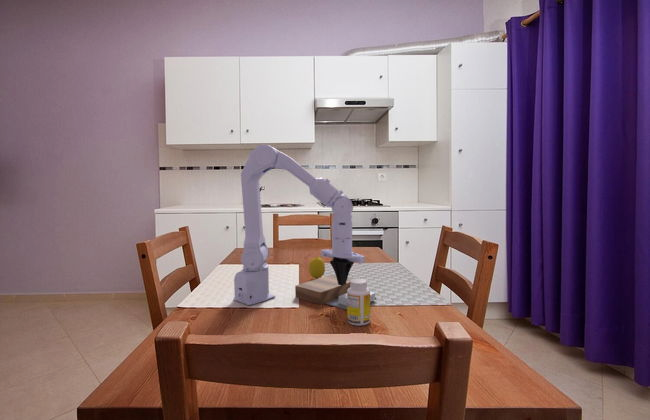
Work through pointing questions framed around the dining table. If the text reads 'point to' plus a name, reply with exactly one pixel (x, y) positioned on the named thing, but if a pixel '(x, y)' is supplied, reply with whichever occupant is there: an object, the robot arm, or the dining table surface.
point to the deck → (321, 289)
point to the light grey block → (344, 298)
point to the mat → (337, 304)
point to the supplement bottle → (358, 303)
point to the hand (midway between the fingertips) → (342, 284)
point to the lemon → (316, 267)
